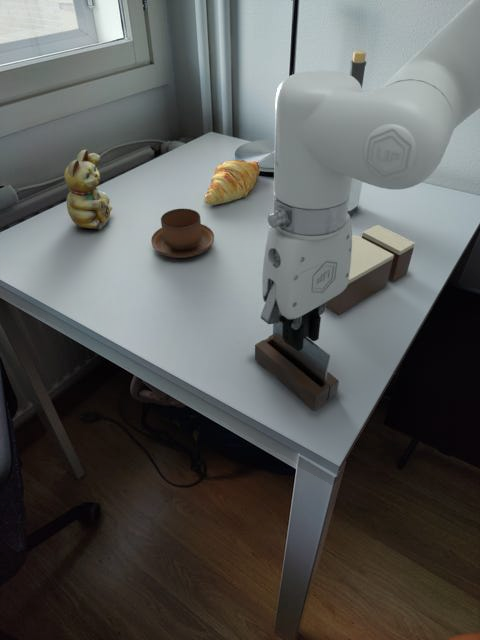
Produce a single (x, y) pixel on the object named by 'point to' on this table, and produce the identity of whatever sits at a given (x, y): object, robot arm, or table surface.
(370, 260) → the cake
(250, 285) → the table surface
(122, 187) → the table surface
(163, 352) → the table surface
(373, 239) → the cake slice
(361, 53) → the wine bottle
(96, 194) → the decorative figurine
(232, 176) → the croissant
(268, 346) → the knife stand
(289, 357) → the metal dough scraper
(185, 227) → the cup and saucer
